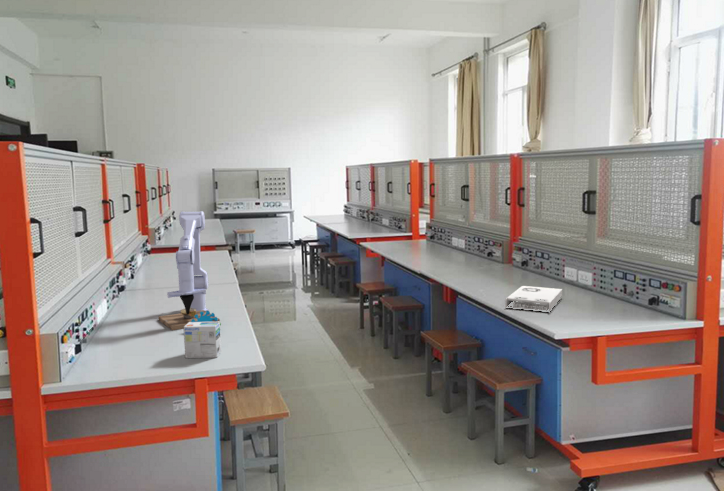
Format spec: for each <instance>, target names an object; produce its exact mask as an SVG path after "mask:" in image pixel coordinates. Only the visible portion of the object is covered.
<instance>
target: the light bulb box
mask: <svg viewBox="0 0 724 491" xmlns="http://www.w3.org/2000/svg"><path fill="white" fill-rule="evenodd" d="M220 323H221V321H217V322H189V323H187V324H186V325H185V326H184V329H183V341H184V343H183V344H184V358H185V359H199V358H200V359H203V358H204V359H205V358H206V359H207V358H209V359H210V358H211V359H212V358H213V359H214V358H218V357H219V355H220V354H221V352H222V339H221V325H220Z"/></svg>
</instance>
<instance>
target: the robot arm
mask: <svg viewBox="0 0 724 491" xmlns="http://www.w3.org/2000/svg"><path fill="white" fill-rule="evenodd" d="M178 217H179V225H180V227H181V229H182V230H183V236H182V237H180V239H179V246H178V250H177V251H176V252H175V262H176V269H177V274H178V290H175V291H167V292H166V294H167V295H166V296H167V298H168V299H170V298H178V297H179V298H180V299H181V301H182V303H183V306H184V309H185V310H186V314H189V311H190V308H194V309H196V311H200V310H204V311H209V312H210V308H209V309H208V308H207V306H206V301H207V300H206V295H207V290H208V288H209V277H208V276H209V275H208V271H206V270H205V269H204V268H202V265H201V264H202V262H201V261H202V260H201V233H202V232H201V231H203V230H205V227H206V217H205V212H204V211H203V210H201V211H183V210H182V211H180V212H179V216H178Z"/></svg>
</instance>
